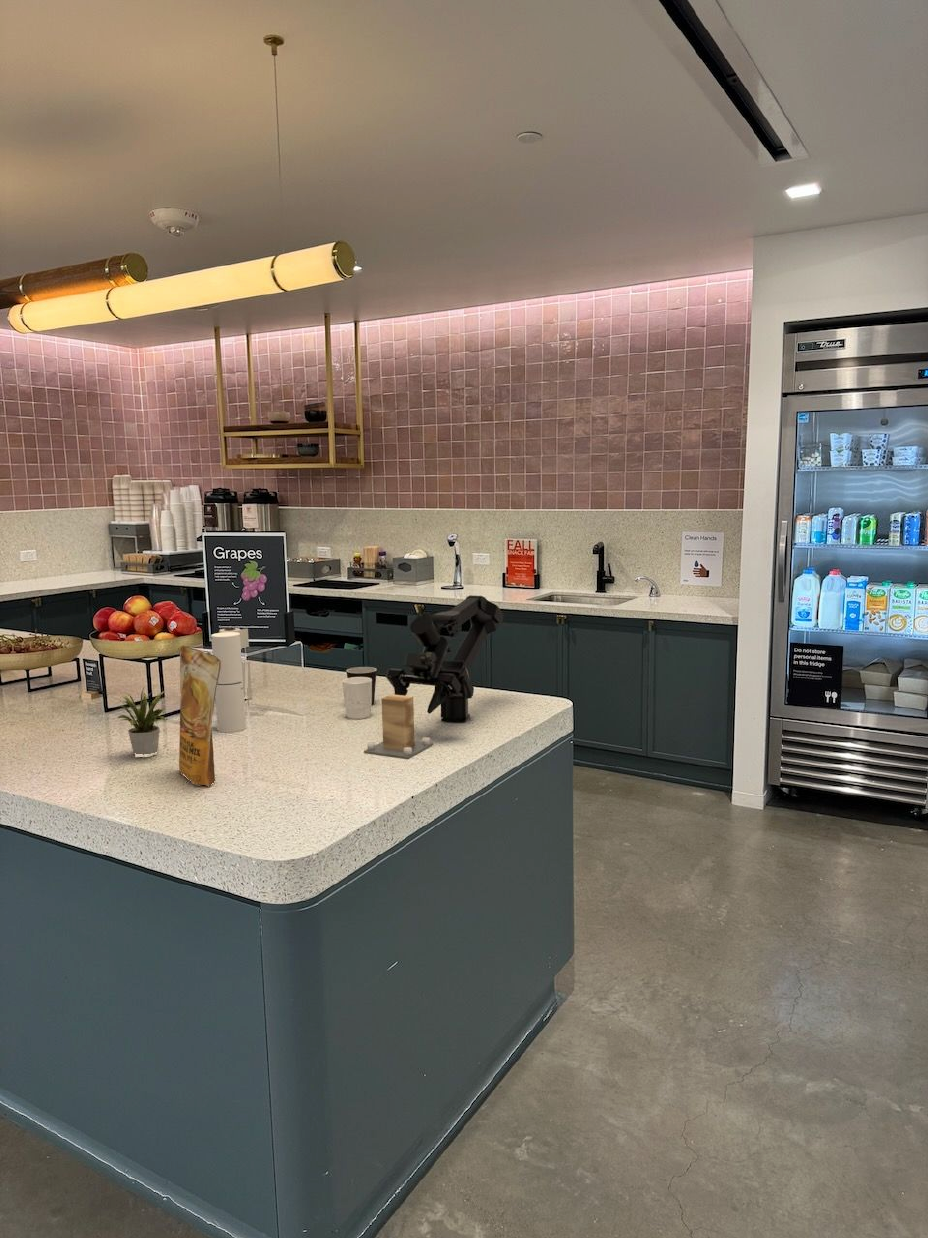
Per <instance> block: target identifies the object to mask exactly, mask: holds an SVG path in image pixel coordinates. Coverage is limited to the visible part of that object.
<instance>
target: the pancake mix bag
mask: <svg viewBox="0 0 928 1238" xmlns="http://www.w3.org/2000/svg"><path fill="white" fill-rule="evenodd" d="M178 652H179V665H180V666H179V670H180V673H179V675H180V677H179V678H180V679H179V680H180V682H179V683H180V687H179V688H180V701H179V703H180V705H179V708H180V709H179V711H180V712H179V747H178V748H179V749H178V750H179V751H178V752H179V754H178V769H179V771H180V772H181V773H182V774H184V775H185V776H186V777H187V778H188V779H189V780H191V781H192V782H193V783H194V784H196V785H206V786H205V787H207V786H208V788H209V786H210V785H211V784H212V783H214V781H215V782H216V776H215V761H214V759H215V758H214V757H215V756H214V743H213V732H212V731H213V730H212V722H213V714H214V709H215V702H216V699H215V693H216V687H217V683H218V678H219V674H220V669H221V661H220V660H219V659H218V658H217V657H216V656H214V655H213V654H211V653H207V652H205V651H202V650H200V649H197V648H193V647H190V646H185V645H181V646H179V647H178ZM181 773H180V774H181ZM189 780H188V781H189ZM194 784H193V785H194ZM214 784H215V783H214ZM211 786H212V785H211ZM211 786H210V787H211Z"/></svg>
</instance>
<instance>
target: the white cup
mask: <svg viewBox="0 0 928 1238" xmlns="http://www.w3.org/2000/svg"><path fill="white" fill-rule="evenodd" d="M342 686H343V698H344V699H343V700H344V707H345V714H346V715H345V716H346V718H347V719H352V720H362V719H367V718H370V717H371V716H372V706H373V705H372V679H371V678H368V677H352V678H345V679H343V680H342Z"/></svg>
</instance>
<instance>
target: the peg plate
mask: <svg viewBox="0 0 928 1238" xmlns="http://www.w3.org/2000/svg"><path fill="white" fill-rule="evenodd" d="M434 744H435V743H434V742H431V738H430V737H429V736H428V737H427V736H424V737H422V739H421V740H415V746H413V747H412V748H411V747H405V748H404V751H402V750H395V749H387V748H383V741H381V742H379V743H377V744H376V742H374V741H369V742H367V744H366V745H367V747H366V748H367V749H365V750H364V751H363V753H364V754H368V753H370V754H369V755H375V754H376V756H377V755H378V756H383V755H384V756H383V757H392V758H396V759H397V758H399V759H406V760H409V759H410V758H411V759H412V758H413V757H414V756H416V755H418V754H419V753H422V752H424V751H426V750H427V749H429V748H431V747H432V745H433V746H434ZM430 746H431V747H430ZM423 750H424V751H423Z"/></svg>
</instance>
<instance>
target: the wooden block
mask: <svg viewBox="0 0 928 1238" xmlns="http://www.w3.org/2000/svg"><path fill="white" fill-rule="evenodd" d="M414 706H415V705H414V696H412V695H410V696H409V695H406V696H403V695H395V694H394V693H393V694H392V693H391V694H388V695H387V696H384V697H382V698H381V721H382V723H381V724H382V725H381V726H382V742H383V748H387V749H395V750H402V751H404V748H405V747H411V748H412V747H413V746H415V741H416V740H415V738H416V737H415V710H414V708H415V707H414Z"/></svg>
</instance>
